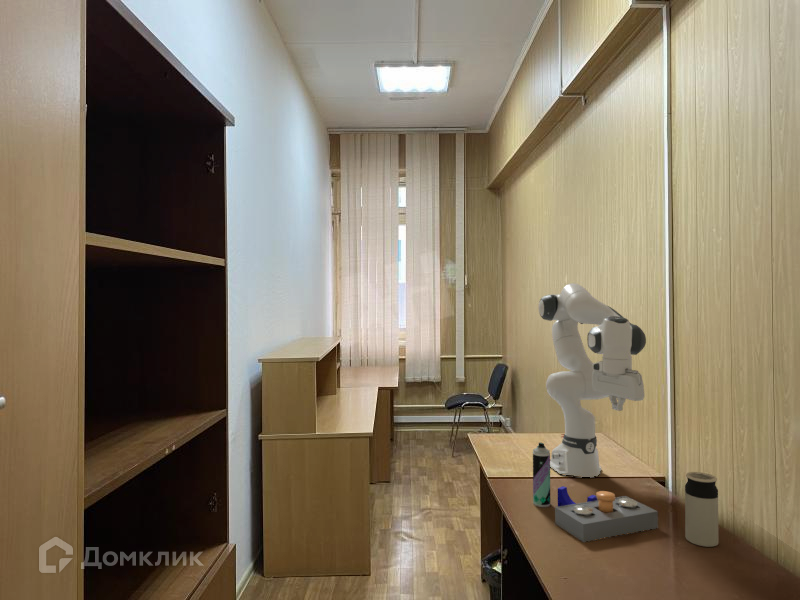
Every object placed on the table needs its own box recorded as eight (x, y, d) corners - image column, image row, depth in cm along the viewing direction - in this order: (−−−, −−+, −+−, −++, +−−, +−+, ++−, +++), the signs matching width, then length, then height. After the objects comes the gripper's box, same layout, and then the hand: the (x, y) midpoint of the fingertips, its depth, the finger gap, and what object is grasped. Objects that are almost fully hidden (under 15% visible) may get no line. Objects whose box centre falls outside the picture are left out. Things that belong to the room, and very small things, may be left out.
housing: (555, 523, 160) (555, 507, 160) (625, 511, 169) (625, 495, 169) (583, 542, 148) (583, 524, 148) (657, 528, 156) (657, 511, 156)
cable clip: (599, 514, 168) (599, 494, 168) (592, 518, 165) (592, 498, 165) (565, 503, 177) (565, 485, 177) (557, 506, 174) (557, 488, 174)
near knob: (570, 526, 157) (569, 506, 157) (584, 524, 159) (584, 504, 159) (581, 534, 153) (581, 513, 152) (596, 531, 154) (596, 510, 154)
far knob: (614, 519, 163) (614, 499, 163) (628, 516, 164) (628, 497, 164) (627, 525, 158) (626, 505, 158) (641, 523, 159) (641, 503, 159)
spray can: (529, 502, 177) (529, 441, 177) (543, 499, 179) (542, 440, 179) (540, 508, 172) (539, 446, 172) (554, 505, 174) (553, 444, 174)
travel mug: (714, 550, 143) (714, 483, 142) (681, 541, 148) (681, 476, 148) (721, 540, 148) (721, 475, 148) (689, 532, 154) (689, 469, 154)
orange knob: (592, 512, 160) (592, 492, 160) (607, 510, 162) (606, 490, 162) (604, 519, 155) (604, 498, 155) (619, 516, 157) (619, 496, 157)
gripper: (649, 370, 164) (649, 415, 164) (603, 363, 184) (604, 403, 184) (632, 371, 162) (633, 417, 162) (588, 364, 182) (588, 404, 182)
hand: (617, 409), depth 173 cm, fingers closed
